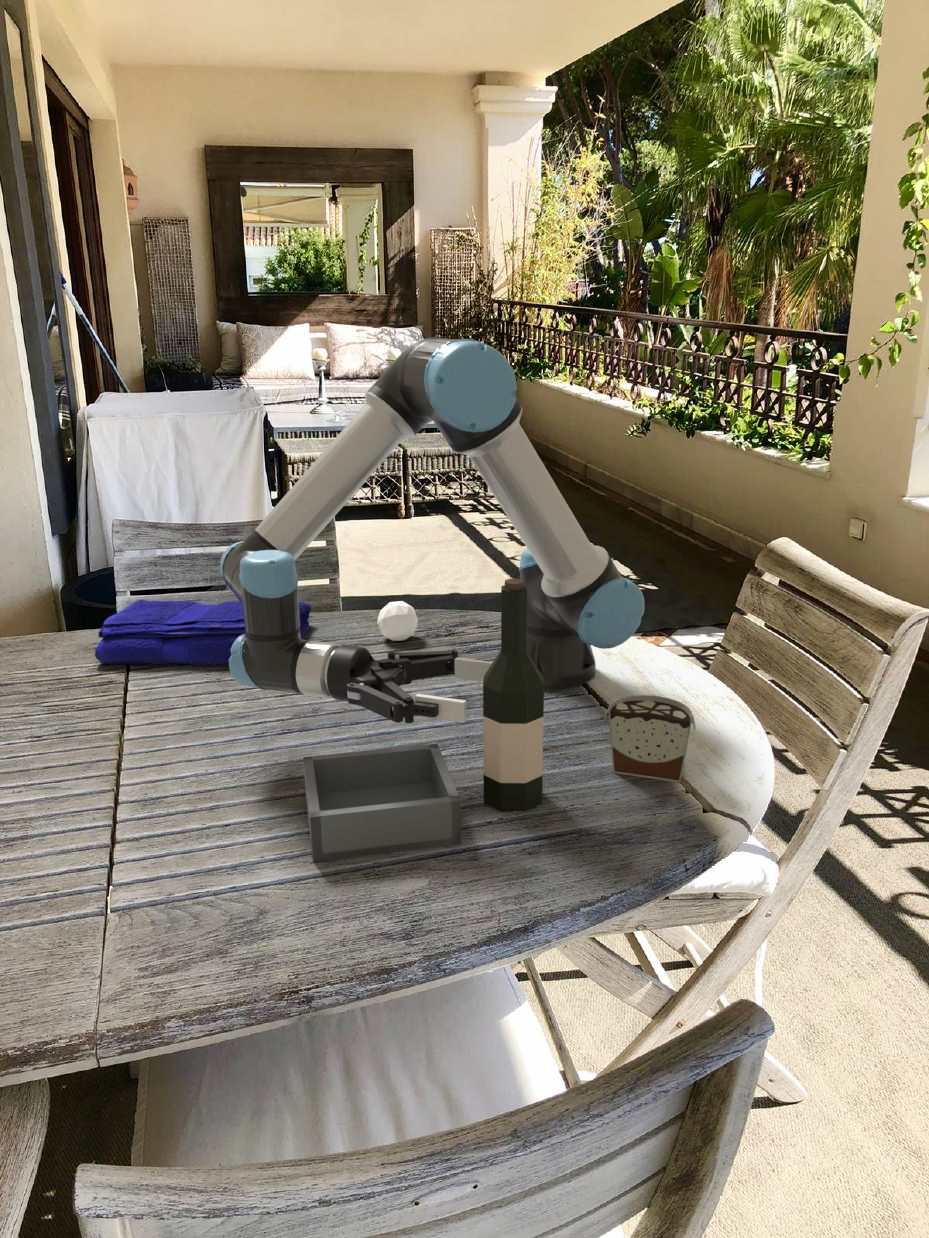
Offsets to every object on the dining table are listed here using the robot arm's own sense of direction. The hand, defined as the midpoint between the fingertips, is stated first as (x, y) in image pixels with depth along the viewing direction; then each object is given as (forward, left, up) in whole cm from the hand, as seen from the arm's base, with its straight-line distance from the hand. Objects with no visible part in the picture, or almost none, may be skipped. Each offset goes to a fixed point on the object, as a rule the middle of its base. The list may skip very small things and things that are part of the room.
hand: (483, 691), depth 127 cm
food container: (-25, -2, -15) cm, 29 cm away
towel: (+38, -70, -16) cm, 81 cm away
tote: (+14, +4, -15) cm, 21 cm away
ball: (+2, -64, -15) cm, 66 cm away
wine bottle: (-4, +2, -15) cm, 16 cm away
